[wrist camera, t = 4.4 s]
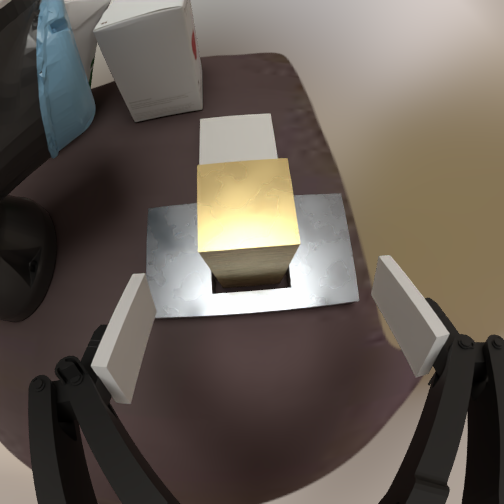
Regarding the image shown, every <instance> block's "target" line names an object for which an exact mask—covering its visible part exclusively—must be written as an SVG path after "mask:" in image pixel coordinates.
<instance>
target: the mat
mask: <svg viewBox="0 0 504 504" xmlns="http://www.w3.org/2000/svg"><path fill="white" fill-rule="evenodd" d="M263 159H278V158H277V151H276V145H275V138H274V132H273V126H272V120H271V114H252V115H237V116H225V117H215V118H206V119H200V162H199V165H203V164H213V163H223V162H235V161H247V160H263Z"/></svg>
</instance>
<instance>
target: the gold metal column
mask: <svg viewBox="0 0 504 504" xmlns="http://www.w3.org/2000/svg"><path fill="white" fill-rule="evenodd" d="M197 222H198V252H199V254H200V255H201V257H202V258H203V260H204V261H205V263H206V264H207V265H208V267H209V268H210V270H211V271H212V273H213V274H214V275H215V277H216V278H217V280H218V281H219V283H220V284H221V285H222V287H223V288H230V287H243V286H255V285H267V284H279V283H280V281H281V280H282V278H283V276H284V274H285V272H286V270H287V268H288V266H289V265H290V263H291V261H292V259H293V257H294V255H295V253H296V251H297V249H298V247H299V246H300V238H299V230H298V223H297V216H296V209H295V203H294V196H293V190H292V183H291V177H290V171H289V165H288V159H287V158H282V159H263V160H247V161H235V162H223V163H213V164H203V165H197Z"/></svg>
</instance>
